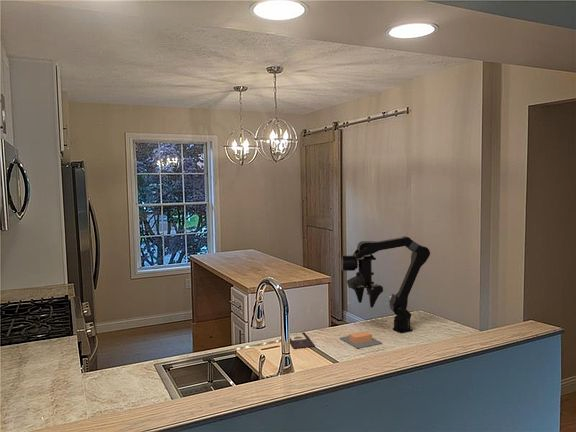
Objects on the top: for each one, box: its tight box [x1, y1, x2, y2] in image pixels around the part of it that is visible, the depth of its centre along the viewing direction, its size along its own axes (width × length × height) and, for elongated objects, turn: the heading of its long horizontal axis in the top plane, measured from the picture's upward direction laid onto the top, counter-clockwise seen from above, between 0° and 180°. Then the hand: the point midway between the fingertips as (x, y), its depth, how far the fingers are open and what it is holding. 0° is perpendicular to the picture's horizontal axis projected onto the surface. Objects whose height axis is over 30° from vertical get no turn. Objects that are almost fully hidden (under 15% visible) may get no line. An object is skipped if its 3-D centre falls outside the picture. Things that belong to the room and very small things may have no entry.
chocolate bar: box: [289, 331, 316, 350], centre depth 190 cm, size 9×1×18 cm
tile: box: [348, 330, 373, 344], centre depth 187 cm, size 5×8×2 cm, turn 114°
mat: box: [338, 335, 383, 350], centre depth 187 cm, size 12×14×1 cm
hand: (365, 305), depth 198 cm, fingers open, 9 cm apart
